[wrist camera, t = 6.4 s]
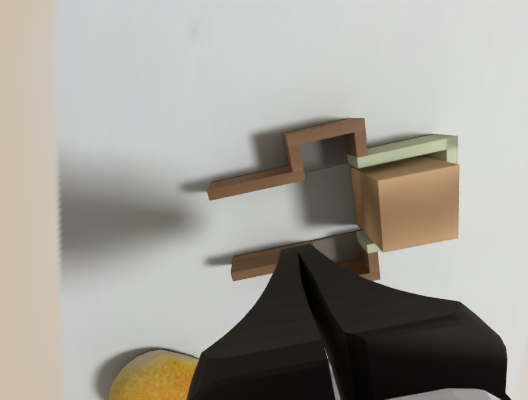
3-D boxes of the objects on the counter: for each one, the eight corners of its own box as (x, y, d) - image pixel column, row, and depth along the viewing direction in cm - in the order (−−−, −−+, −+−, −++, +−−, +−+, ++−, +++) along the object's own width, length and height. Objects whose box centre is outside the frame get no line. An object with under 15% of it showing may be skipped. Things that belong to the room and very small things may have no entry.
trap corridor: (437, 248, 19) (457, 263, 17) (242, 288, 19) (240, 307, 17) (433, 99, 16) (457, 97, 14) (203, 151, 16) (196, 155, 14)
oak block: (415, 212, 18) (457, 238, 14) (356, 224, 18) (383, 252, 14) (413, 154, 17) (459, 164, 13) (350, 166, 17) (377, 180, 13)
